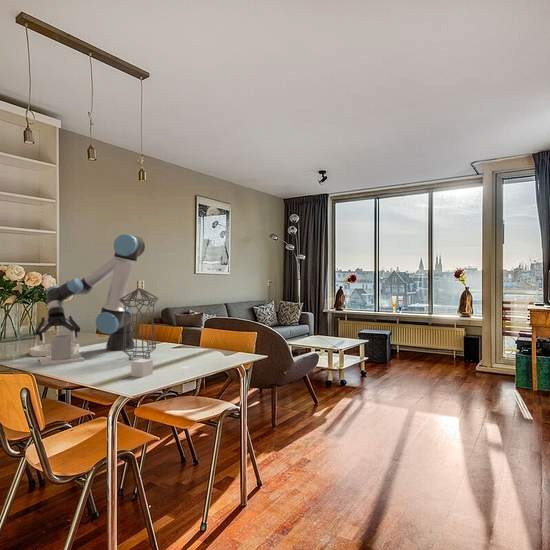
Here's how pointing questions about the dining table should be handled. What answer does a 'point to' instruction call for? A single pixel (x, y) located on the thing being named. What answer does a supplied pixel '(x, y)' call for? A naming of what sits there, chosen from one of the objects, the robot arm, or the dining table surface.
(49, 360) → the mat
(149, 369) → the pale pink cube
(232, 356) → the dining table surface
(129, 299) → the geometric lantern
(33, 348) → the white plate
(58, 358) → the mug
